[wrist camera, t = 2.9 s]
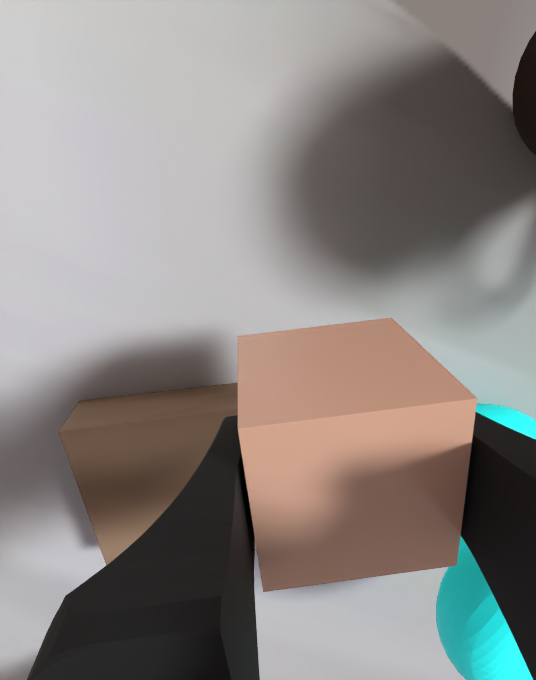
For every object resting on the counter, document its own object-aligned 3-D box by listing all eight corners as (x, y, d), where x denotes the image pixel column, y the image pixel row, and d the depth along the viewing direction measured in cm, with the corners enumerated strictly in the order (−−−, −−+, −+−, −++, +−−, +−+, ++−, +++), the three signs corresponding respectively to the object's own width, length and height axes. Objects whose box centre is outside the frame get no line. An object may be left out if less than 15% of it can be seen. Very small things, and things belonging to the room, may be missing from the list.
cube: (388, 443, 15) (457, 565, 10) (255, 460, 15) (263, 591, 10) (391, 318, 13) (477, 398, 8) (237, 336, 13) (237, 428, 8)
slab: (268, 505, 25) (272, 546, 22) (122, 524, 24) (107, 568, 22) (252, 377, 21) (254, 407, 18) (81, 397, 21) (58, 431, 18)
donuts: (790, 582, 14) (609, 736, 17) (571, 421, 23) (481, 541, 27) (566, 521, 12) (411, 707, 15) (424, 372, 21) (346, 508, 25)
